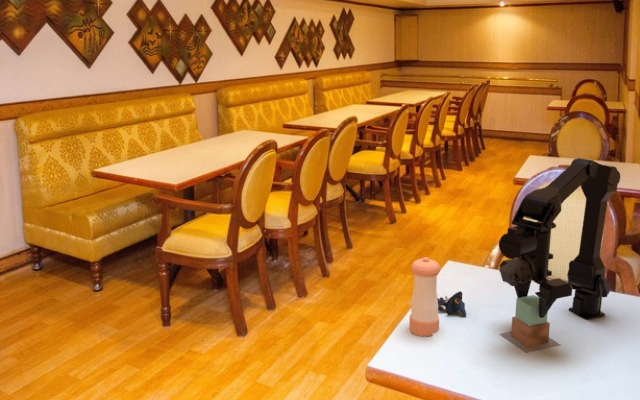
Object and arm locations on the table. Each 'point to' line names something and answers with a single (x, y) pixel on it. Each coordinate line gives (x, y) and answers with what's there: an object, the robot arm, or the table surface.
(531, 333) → the walnut block
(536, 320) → the green cube
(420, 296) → the pepper shaker
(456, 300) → the toy
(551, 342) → the mat
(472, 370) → the table surface
